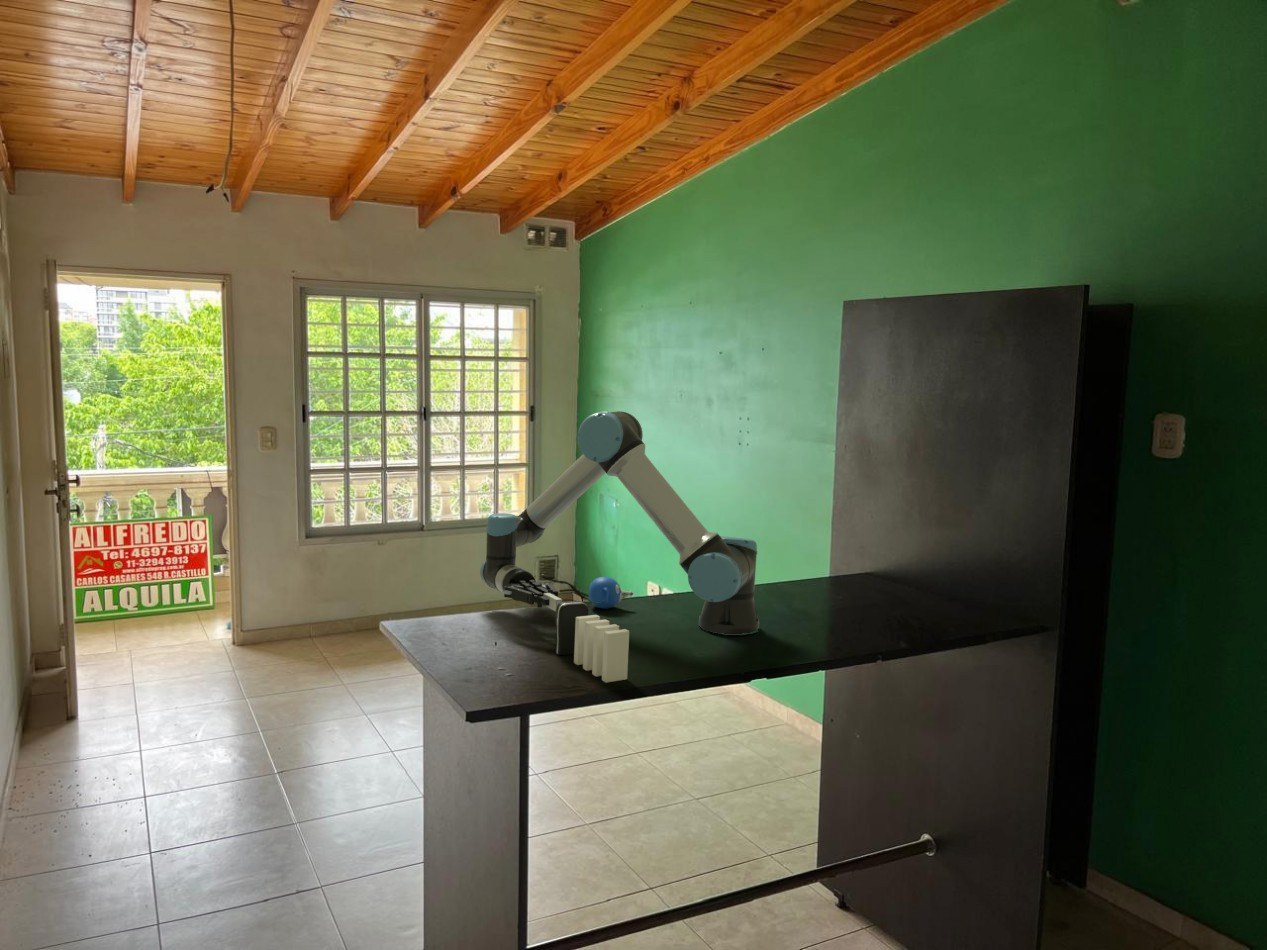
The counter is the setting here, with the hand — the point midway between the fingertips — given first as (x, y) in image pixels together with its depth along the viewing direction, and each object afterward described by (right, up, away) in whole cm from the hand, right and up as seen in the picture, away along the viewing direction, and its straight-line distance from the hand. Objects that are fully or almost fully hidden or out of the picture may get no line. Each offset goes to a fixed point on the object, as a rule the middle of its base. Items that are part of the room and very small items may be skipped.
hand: (558, 605), depth 197 cm
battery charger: (+3, -10, -3) cm, 11 cm away
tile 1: (+7, -11, -10) cm, 16 cm away
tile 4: (+13, -12, -20) cm, 27 cm away
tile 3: (+11, -12, -16) cm, 23 cm away
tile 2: (+9, -11, -13) cm, 19 cm away
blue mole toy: (+11, -6, +37) cm, 39 cm away
